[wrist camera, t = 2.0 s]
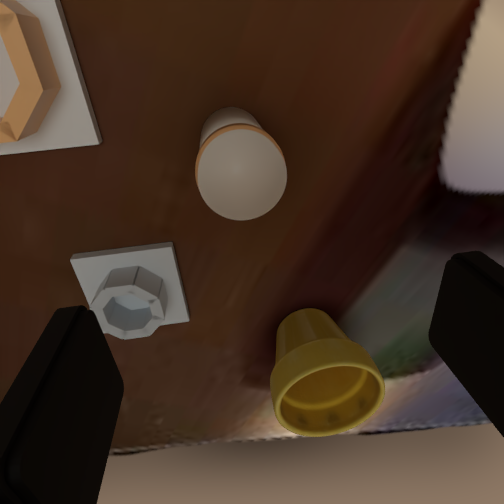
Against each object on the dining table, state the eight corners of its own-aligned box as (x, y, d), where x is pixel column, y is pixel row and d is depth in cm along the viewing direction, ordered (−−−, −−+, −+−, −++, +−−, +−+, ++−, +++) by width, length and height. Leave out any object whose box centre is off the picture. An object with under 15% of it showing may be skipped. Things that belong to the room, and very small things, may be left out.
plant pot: (285, 282, 35) (310, 353, 27) (365, 307, 38) (409, 378, 30) (245, 350, 40) (256, 429, 31) (319, 367, 43) (347, 444, 34)
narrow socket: (172, 241, 31) (168, 264, 28) (189, 314, 36) (187, 342, 33) (73, 254, 31) (57, 279, 27) (103, 326, 35) (93, 356, 32)
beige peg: (261, 101, 26) (288, 124, 18) (265, 168, 29) (290, 216, 20) (193, 108, 26) (186, 135, 17) (204, 175, 29) (202, 227, 20)
